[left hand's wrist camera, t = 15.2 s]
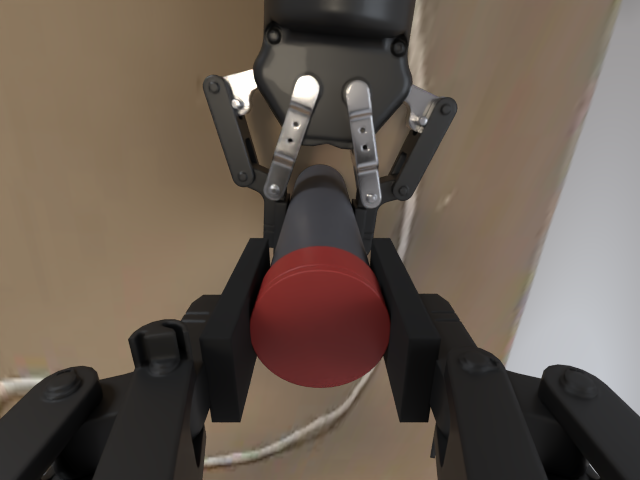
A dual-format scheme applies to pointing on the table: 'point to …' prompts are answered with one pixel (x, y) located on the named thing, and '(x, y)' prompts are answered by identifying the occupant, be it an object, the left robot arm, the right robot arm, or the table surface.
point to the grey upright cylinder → (320, 215)
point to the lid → (320, 318)
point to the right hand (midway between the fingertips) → (316, 254)
